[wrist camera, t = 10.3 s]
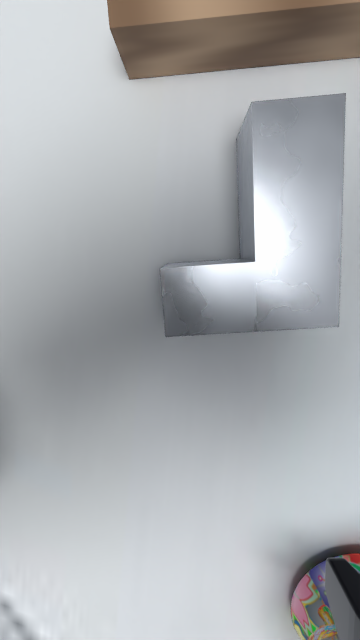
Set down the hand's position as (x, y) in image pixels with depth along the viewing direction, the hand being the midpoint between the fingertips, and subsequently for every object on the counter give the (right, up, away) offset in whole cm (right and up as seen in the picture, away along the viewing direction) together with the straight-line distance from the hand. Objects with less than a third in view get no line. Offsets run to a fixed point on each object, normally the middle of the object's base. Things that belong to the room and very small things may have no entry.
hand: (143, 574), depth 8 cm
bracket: (+4, +11, +10) cm, 15 cm away
